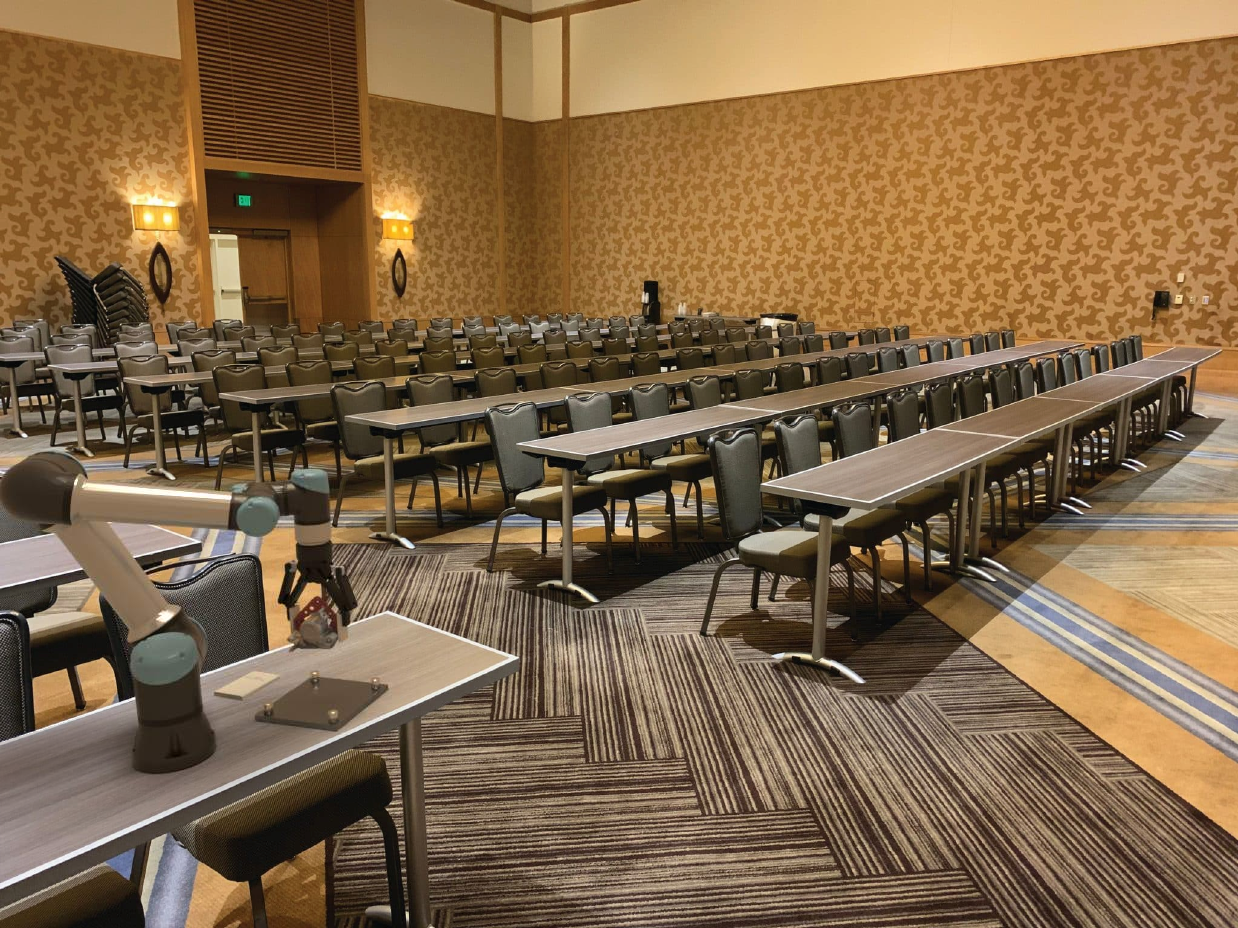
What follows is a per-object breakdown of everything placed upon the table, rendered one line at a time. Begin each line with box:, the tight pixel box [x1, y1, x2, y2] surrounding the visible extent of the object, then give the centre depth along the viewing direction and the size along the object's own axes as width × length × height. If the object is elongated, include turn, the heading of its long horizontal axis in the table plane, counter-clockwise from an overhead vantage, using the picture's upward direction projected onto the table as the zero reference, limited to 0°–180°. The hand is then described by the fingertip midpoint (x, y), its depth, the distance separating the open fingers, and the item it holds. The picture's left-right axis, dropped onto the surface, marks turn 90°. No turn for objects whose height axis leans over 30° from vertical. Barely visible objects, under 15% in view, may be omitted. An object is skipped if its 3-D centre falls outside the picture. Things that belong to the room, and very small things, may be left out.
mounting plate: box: [254, 670, 389, 732], centre depth 202 cm, size 20×21×3 cm
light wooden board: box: [213, 670, 281, 701], centre depth 212 cm, size 2×8×12 cm
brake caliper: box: [286, 595, 338, 653], centre depth 198 cm, size 11×11×12 cm
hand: (319, 637), depth 200 cm, fingers closed on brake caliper, 11 cm apart
